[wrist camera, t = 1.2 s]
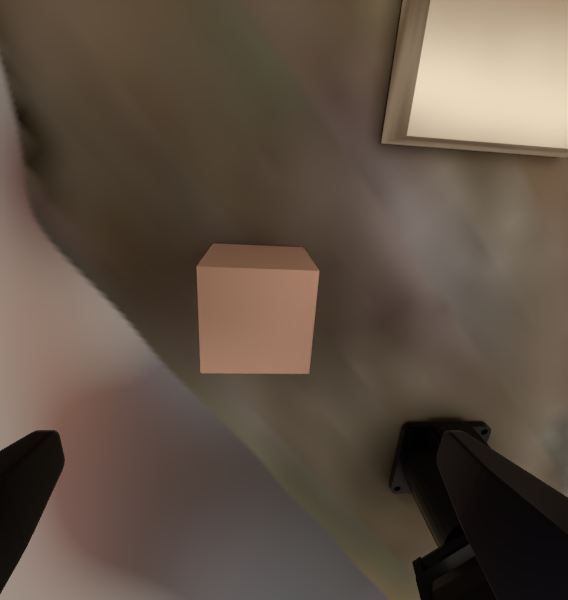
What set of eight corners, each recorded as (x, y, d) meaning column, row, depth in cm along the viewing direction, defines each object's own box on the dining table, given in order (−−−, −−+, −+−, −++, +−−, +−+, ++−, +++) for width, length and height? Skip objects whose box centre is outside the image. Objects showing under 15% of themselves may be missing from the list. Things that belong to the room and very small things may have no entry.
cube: (297, 327, 20) (309, 374, 15) (214, 326, 19) (200, 373, 14) (303, 247, 18) (319, 270, 13) (213, 243, 17) (196, 266, 13)
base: (561, 157, 17) (621, 153, 14) (380, 143, 16) (406, 135, 13) (648, -100, 13) (750, -173, 11) (423, -136, 13) (470, -226, 10)
